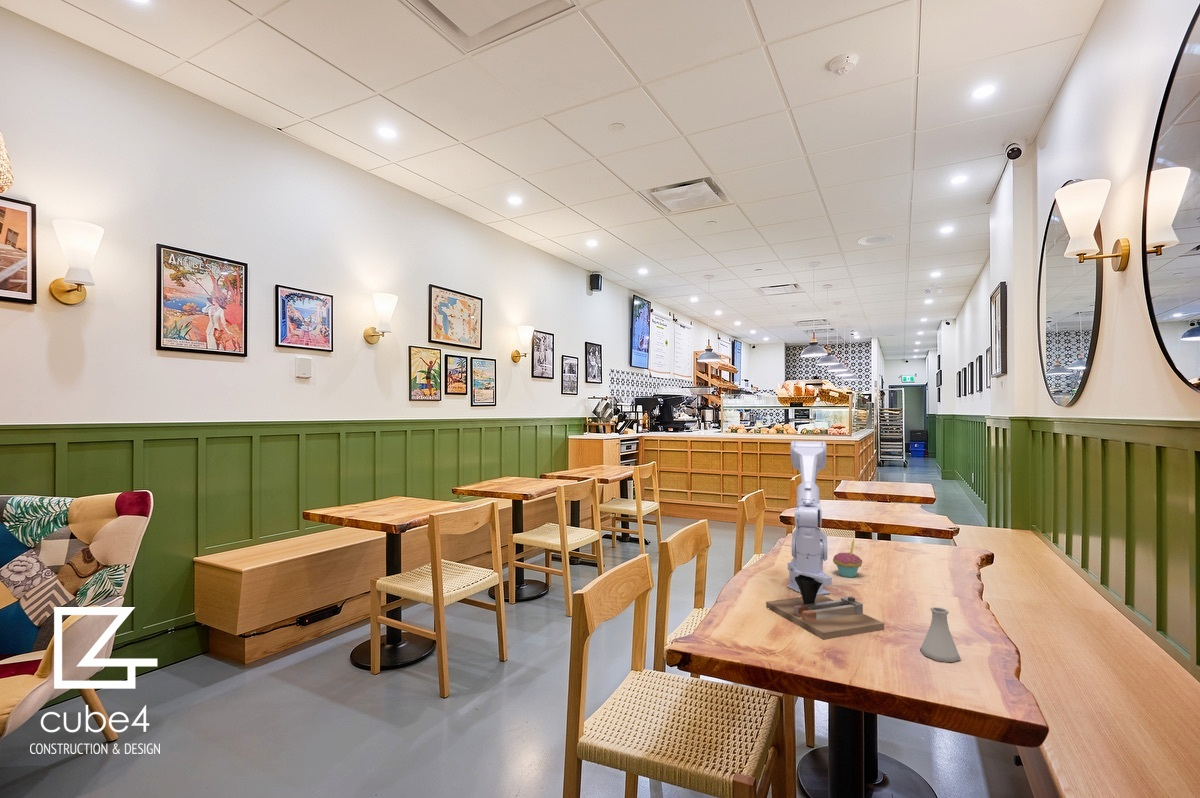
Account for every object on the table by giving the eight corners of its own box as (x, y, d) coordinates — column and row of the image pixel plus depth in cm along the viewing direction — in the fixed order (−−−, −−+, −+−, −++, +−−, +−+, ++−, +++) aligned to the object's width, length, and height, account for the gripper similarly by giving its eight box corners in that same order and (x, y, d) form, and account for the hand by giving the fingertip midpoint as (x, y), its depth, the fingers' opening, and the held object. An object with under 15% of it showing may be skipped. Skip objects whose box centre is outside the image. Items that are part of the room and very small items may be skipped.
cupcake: (863, 574, 179) (863, 536, 179) (860, 580, 172) (859, 542, 172) (835, 569, 184) (835, 533, 184) (830, 576, 176) (830, 538, 177)
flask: (913, 649, 123) (912, 604, 123) (944, 647, 124) (943, 603, 124) (935, 664, 116) (935, 616, 116) (968, 662, 117) (967, 615, 117)
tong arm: (838, 607, 144) (838, 599, 144) (843, 609, 143) (843, 601, 143) (794, 614, 140) (793, 605, 140) (798, 616, 138) (798, 608, 138)
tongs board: (766, 607, 149) (766, 589, 149) (820, 599, 155) (820, 582, 155) (823, 639, 128) (823, 618, 128) (884, 629, 134) (884, 609, 134)
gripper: (777, 547, 149) (778, 597, 149) (815, 561, 135) (815, 617, 135) (799, 545, 152) (800, 594, 151) (838, 558, 138) (838, 613, 138)
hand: (808, 605), depth 143 cm, fingers closed
